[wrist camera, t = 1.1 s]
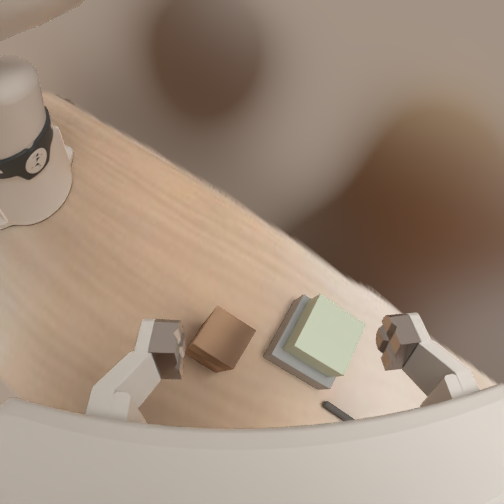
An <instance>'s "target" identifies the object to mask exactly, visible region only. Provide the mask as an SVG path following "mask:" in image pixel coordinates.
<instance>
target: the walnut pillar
mask: <svg viewBox="0 0 504 504" xmlns="http://www.w3.org/2000/svg"><path fill="white" fill-rule="evenodd" d="M255 332H256V330H254V329H253V328H251V327H250V326H248V325H247V324H245V323H244V322H242V321H241V320H239V319H237V318H236V317H234V316H233V315H231V314H230V313H228V312H227V311H225V310H224V309H222V308H221V307H219V306H217V307H216V308H215V310H214V311H213V312H212V313H211V315H210V316H209V317H208V318H207V320H206V321H205V322H204V323H203V325H202V326H201V328H200V330H199V331H198V333H197V334H196V336H195V337H194V339H193V340H192V342H191V343H190V345H189V346H188V348H187V349H186V351H185V353H186V354H188V355H189V356H191V357H192V358H194V359H195V360H197V361H198V362H200V363H201V364H203V365H204V366H206V367H208V368H209V369H211V370H212V371H214V372H221V371H226V370H231V369H234V367H235V365H236V364H237V362H238V360H239V359H240V357H241V355H242V354H243V352H244V350H245V349H246V347H247V345H248V343H249V342H250V340H251V338H252V337H253V335H254V333H255Z"/></svg>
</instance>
